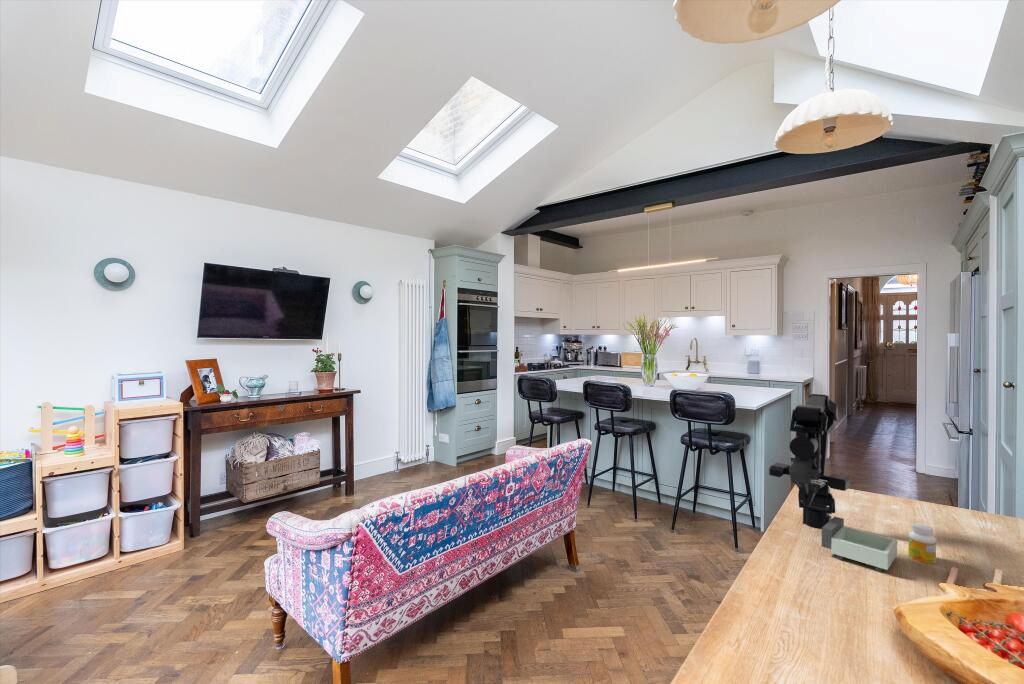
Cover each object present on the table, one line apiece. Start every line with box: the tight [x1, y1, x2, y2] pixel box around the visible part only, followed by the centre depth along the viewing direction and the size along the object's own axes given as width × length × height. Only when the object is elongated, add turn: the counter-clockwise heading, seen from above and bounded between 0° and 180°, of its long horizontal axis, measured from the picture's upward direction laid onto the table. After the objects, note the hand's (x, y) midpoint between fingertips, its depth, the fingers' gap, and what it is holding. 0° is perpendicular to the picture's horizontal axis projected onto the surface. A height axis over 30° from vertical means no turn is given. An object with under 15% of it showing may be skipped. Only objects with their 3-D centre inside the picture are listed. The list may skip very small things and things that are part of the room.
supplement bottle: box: [907, 522, 937, 565], centre depth 121 cm, size 5×5×10 cm
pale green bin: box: [821, 516, 898, 573], centre depth 122 cm, size 14×12×7 cm
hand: (807, 505), depth 131 cm, fingers closed
